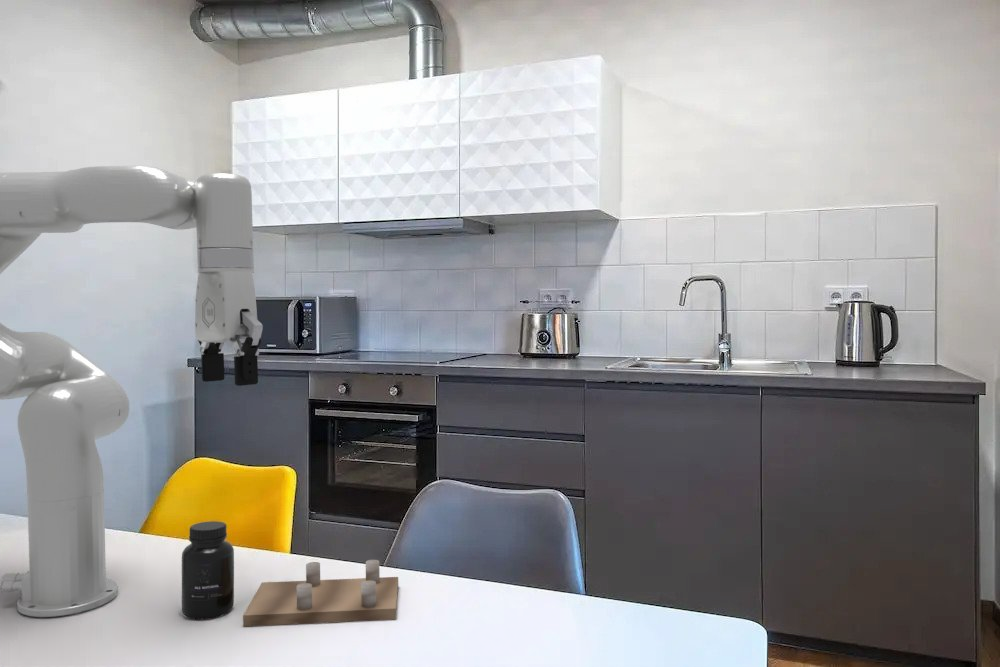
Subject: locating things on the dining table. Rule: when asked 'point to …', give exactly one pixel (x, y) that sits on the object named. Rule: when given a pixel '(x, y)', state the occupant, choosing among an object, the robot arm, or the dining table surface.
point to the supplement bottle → (207, 572)
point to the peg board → (324, 599)
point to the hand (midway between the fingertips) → (229, 382)
